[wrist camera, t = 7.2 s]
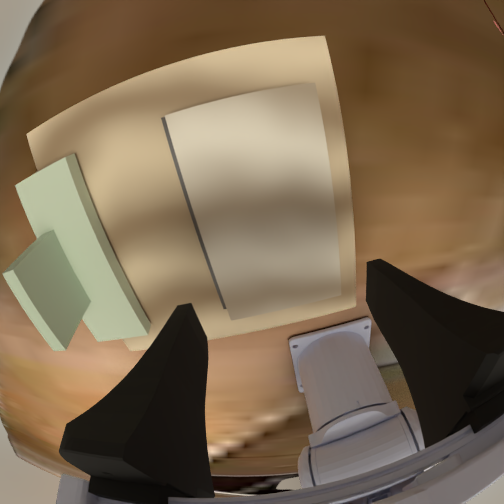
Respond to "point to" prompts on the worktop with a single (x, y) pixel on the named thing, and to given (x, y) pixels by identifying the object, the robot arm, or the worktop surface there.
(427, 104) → the worktop surface
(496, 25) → the figurine
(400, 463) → the robot arm
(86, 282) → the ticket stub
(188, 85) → the board
